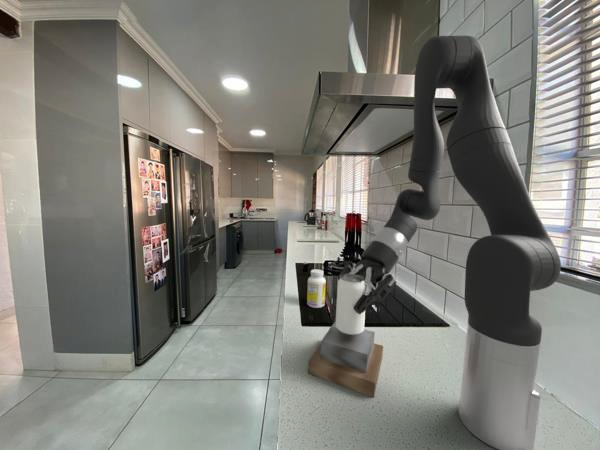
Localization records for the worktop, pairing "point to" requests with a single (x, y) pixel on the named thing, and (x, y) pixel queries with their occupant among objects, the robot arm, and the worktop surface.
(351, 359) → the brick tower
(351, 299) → the can
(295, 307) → the worktop surface
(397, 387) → the worktop surface
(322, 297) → the supplement bottle
